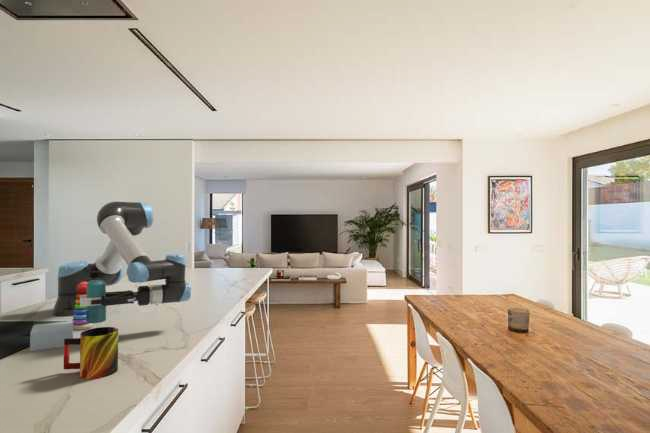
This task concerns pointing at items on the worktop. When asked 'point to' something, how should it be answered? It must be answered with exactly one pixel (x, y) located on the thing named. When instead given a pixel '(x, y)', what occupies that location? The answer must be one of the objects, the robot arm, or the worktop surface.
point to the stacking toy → (81, 310)
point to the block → (50, 335)
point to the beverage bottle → (95, 290)
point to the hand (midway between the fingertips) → (80, 300)
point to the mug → (94, 352)
